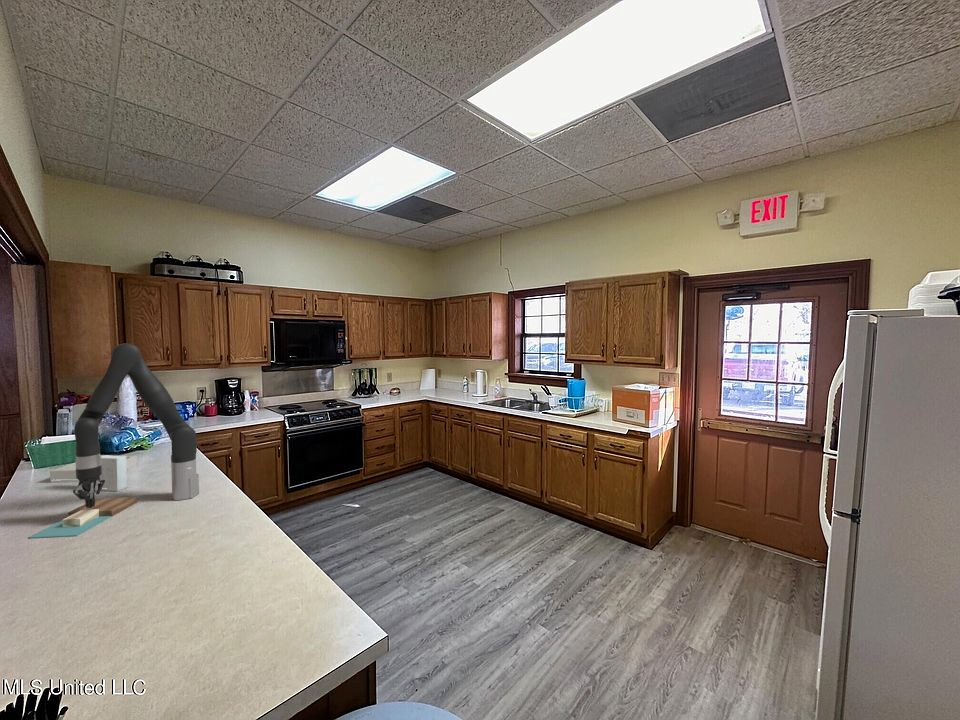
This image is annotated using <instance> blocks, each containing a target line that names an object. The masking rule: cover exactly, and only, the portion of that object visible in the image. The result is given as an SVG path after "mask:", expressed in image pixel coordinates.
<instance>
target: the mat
mask: <svg viewBox="0 0 960 720" xmlns="http://www.w3.org/2000/svg"><path fill="white" fill-rule="evenodd" d="M110 518H112V516H101V517H97V518H95V519H93V520H91V521H89V522H88V523H86V524H84V525H82V526H79V527H63V521H62V520H61V521H58V522H57V523H54V524H52V525H50V526H48V527H46V528H44V529H42V530H40V531H38V532H35V533H34V534H32V535H30V536H28V537H27V539H40V538H41V539H44V538H45V539H47V538H64V537H78V536H80V535H81V534H82V535H83V533H85V532H87V531H88V530H90V529H92V528H94V527H96V526H98V525H99V524H102V523H103V522H104V521H107V520H108V519H110Z"/></svg>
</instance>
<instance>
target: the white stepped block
mask: <svg viewBox="0 0 960 720" xmlns="http://www.w3.org/2000/svg"><path fill="white" fill-rule="evenodd" d="M125 456H126V464H127V468H128V469H127V472H128V471H129V470H132V469H134V468H136V467H138V455H125ZM136 464H137V465H136ZM134 465H135V466H134ZM132 466H133V467H132ZM129 467H130V468H129ZM49 475H50V476H49V479H50V480H53V479H55V480H56V479H76V461H75V462H73V463H69V464H67V465H63V466H60V467H58V468H55V469H52V470H50V471H49ZM50 483H51V484H52V483H54V484H55V483H56V484H57V483H79V480H61V481H50Z"/></svg>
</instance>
